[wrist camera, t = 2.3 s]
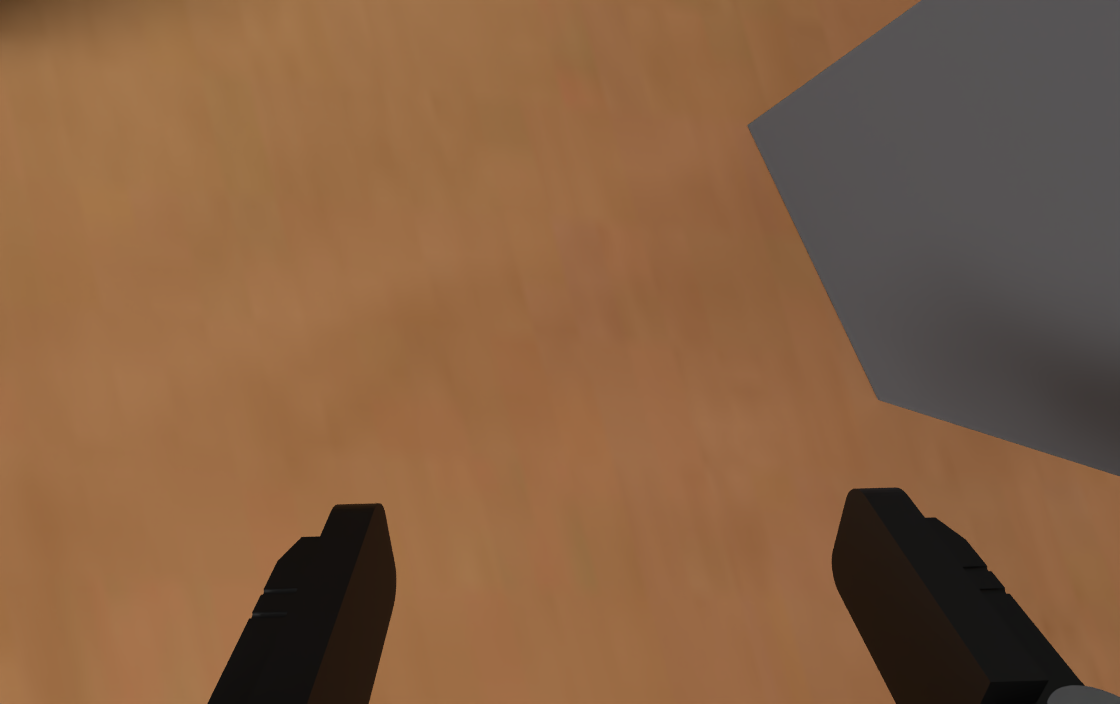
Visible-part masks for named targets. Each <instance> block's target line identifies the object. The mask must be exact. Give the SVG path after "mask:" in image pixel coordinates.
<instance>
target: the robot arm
mask: <svg viewBox="0 0 1120 704" xmlns="http://www.w3.org/2000/svg"><path fill="white" fill-rule="evenodd" d="M832 571H833V577H834V581H835V584H836V587H837V589H838V592H839V594H840V596H841V598H842V600H843V601H844V603H845V605H846V607H847V609H848V611H849V613H850V615H851V617H852V619H853V621H854V623H855V625H856V627H857V629H858V631H859V633H860V635H861V636H862V638H863V640H864V642H865V644H866V646H867V648H868V650H869V652H870V654H871V656H872V658H873V660H874V662H875V664H876V666H877V668H878V670H879V671H880V673H881V675H882V677H883V679H884V681H885V683H886V685H887V687H888V689H889V691H890V693H891V695H892V697H893V699H894V701H895V703H896V704H1120V697H1118V696H1116V695H1114V694H1111V693H1109V692H1106V691H1103V690H1100V689H1096V688H1093V687H1087V686H1085V685H1084V684H1083V683H1082V682H1081V681H1080V680H1079V679H1078V678H1077V676H1076V675H1075V674H1074V673H1073V671H1072V670H1071V669H1070V668H1069V666H1068V665H1067V664H1066V663H1065V661H1064V660H1063V659H1062V658H1061V657H1060V655H1059V654H1058V653H1057V652H1056V650H1055V649H1054V648H1053V647H1052V645H1051V644H1050V643H1049V642H1048V641H1047V639H1046V638H1045V637H1044V636H1043V634H1042V633H1041V632H1040V631H1039V629H1038V628H1037V627H1036V626H1035V624H1034V623H1033V622H1032V621H1031V620H1030V618H1029V617H1028V616H1027V615H1026V613H1025V612H1024V611H1023V610H1022V608H1021V607H1020V606H1019V605H1018V604H1017V602H1016V601H1015V600H1014V599H1013V597H1012V596H1011V595H1010V594H1006V592H1005V587H1004V586H1003V585H1002V584H1001V583H1000V581H999V580H998V579H997V578H996V576H995V575H994V574H993V573H992V571H988V570H987V565H986V564H985V563H984V562H983V560H982V559H981V558H980V557H979V555H978V554H977V553H976V552H975V550H974V549H973V548H972V547H971V546H970V544H969V543H968V542H967V541H966V540H965V539H964V538H963V537H961V536H960V535H959V534H957V533H956V532H954V531H953V530H952V529H950V528H949V527H948V526H946V525H945V524H943V523H942V522H941V521H939V520H938V519H937V518H925V517H924V516H923V515H922V513H921V512H920V511H919V510H918V508H917V507H916V506H915V504H914V503H913V502H912V500H911V499H910V498H909V496H908V495H907V494H906V493H905V492H904V491H903V490H902V489H900V488H863V489H852V490H851V491H850V492H849V493H848V495H847V498H846V501H845V505H844V509H843V513H842V517H841V521H840V525H839V529H838V533H837V537H836V541H835V545H834V549H833V553H832ZM395 594H396V568H395V562H394V557H393V552H392V546H391V541H390V536H389V531H388V525H387V520H386V515H385V510H384V507H383V506H382V504H380V503H376V504H340V505H335V506H334V507H333V509H332V511H331V513H330V515H329V517H328V520H327V522H326V524H325V526H324V529H323V531H322V533H321V536H320V537H301V538H300V539H299V540H298V541H297V542H296V543H295V544H294V545H293V546H292V547H291V548H290V549H289V550H288V551H287V552H286V553H285V554H284V555H283V556H282V557H281V558H280V559H279V560H278V561H277V563H276V565H275V567H274V569H273V571H272V573H271V576H270V578H269V580H268V582H267V584H266V586H265V588H264V594H263V595H261V596H260V598H259V600H258V602H257V604H256V606H255V608H254V610H253V612H252V614H253V615H252V618H251V619H249V620H248V622H247V624H246V626H245V628H244V630H243V632H242V634H241V637H240V639H239V641H238V643H237V645H236V647H235V649H234V651H233V653H232V655H231V657H230V659H229V661H228V663H227V665H226V667H225V669H224V671H223V673H222V675H221V677H220V679H219V681H218V683H217V685H216V687H215V689H214V691H213V693H212V695H211V698H210V700H209V702H208V704H369V700H370V696H371V692H372V688H373V684H374V680H375V677H376V673H377V669H378V665H379V661H380V657H381V653H382V649H383V645H384V641H385V638H386V634H387V630H388V626H389V622H390V618H391V614H392V610H393V606H394V601H395Z"/></svg>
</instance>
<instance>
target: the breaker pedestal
mask: <svg viewBox="0 0 1120 704" xmlns="http://www.w3.org/2000/svg"><path fill="white" fill-rule="evenodd" d="M747 126H748V128H749V130H750V132H751V134H752V136H753V138H754V140H755V142H756V144H757V147H758V149H759V151H760V153H761V155H762V157H763V159H764V161H765V163H766V165H767V168H768V170H769V172H770V174H771V176H772V178H773V180H774V182H775V184H776V186H777V189H778V191H779V193H780V195H781V197H782V199H783V201H784V203H785V205H786V207H787V210H788V212H789V214H790V216H791V218H792V220H793V222H794V224H795V226H796V228H797V230H798V233H799V235H800V237H801V239H802V241H803V243H804V245H805V247H806V249H807V251H808V254H809V256H810V258H811V260H812V262H813V264H814V266H815V268H816V270H817V272H818V275H819V277H820V279H821V281H822V283H823V285H824V287H825V289H826V291H827V293H828V296H829V298H830V300H831V302H832V304H833V306H834V308H835V310H836V312H837V314H838V317H839V319H840V321H841V323H842V325H843V327H844V329H845V331H846V333H847V335H848V337H849V340H850V342H851V344H852V346H853V348H854V350H855V352H856V354H857V356H858V358H859V361H860V363H861V365H862V367H863V369H864V371H865V373H866V375H867V377H868V379H869V382H870V384H871V386H872V388H873V390H874V392H875V394H876V396H877V398H878V400H880V401H884V402H887V403H890V404H893V405H896V406H899V407H903V408H906V409H909V410H912V411H915V412H918V413H922V414H925V415H928V416H931V417H934V418H937V419H940V420H944V421H947V422H950V423H953V424H956V425H959V426H963V427H966V428H969V429H972V430H975V431H978V432H982V433H985V434H988V435H991V436H994V437H997V438H1001V439H1004V440H1007V441H1010V442H1013V443H1016V444H1019V445H1023V446H1026V447H1029V448H1032V449H1035V450H1038V451H1042V452H1045V453H1048V454H1051V455H1054V456H1057V457H1061V458H1064V459H1067V460H1070V461H1073V462H1076V463H1080V464H1083V465H1086V466H1089V467H1092V468H1095V469H1098V470H1102V471H1105V472H1108V473H1111V474H1114V475H1117V476H1120V0H921V1H920V2H918V3H917V4H916V5H914V6H913V7H912V8H910V9H909V10H907V11H906V12H905V13H903V14H902V15H900V16H899V17H898V18H896V19H895V20H893V21H892V22H891V23H889V24H888V25H886V26H885V27H884V28H882V29H881V30H879V31H878V32H877V33H875V34H874V35H873V36H871V37H870V38H868V39H867V40H866V41H864V42H863V43H861V44H860V45H859V46H857V47H856V48H854V49H853V50H852V51H850V52H849V53H847V54H846V55H845V56H843V57H842V58H840V59H839V60H838V61H836V62H835V63H833V64H832V65H831V66H829V67H828V68H827V69H825V70H824V71H822V72H821V73H820V74H818V75H817V76H815V77H814V78H813V79H811V80H810V81H808V82H807V83H806V84H804V85H803V86H801V87H800V88H799V89H797V90H796V91H794V92H793V93H792V94H790V95H789V96H787V97H786V98H785V99H783V100H782V101H781V102H779V103H778V104H776V105H775V106H774V107H772V108H771V109H769V110H768V111H767V112H765V113H764V114H762V115H761V116H760V117H758V118H757V119H755V120H754V121H753V122H751V123H750V124H748V125H747Z"/></svg>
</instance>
